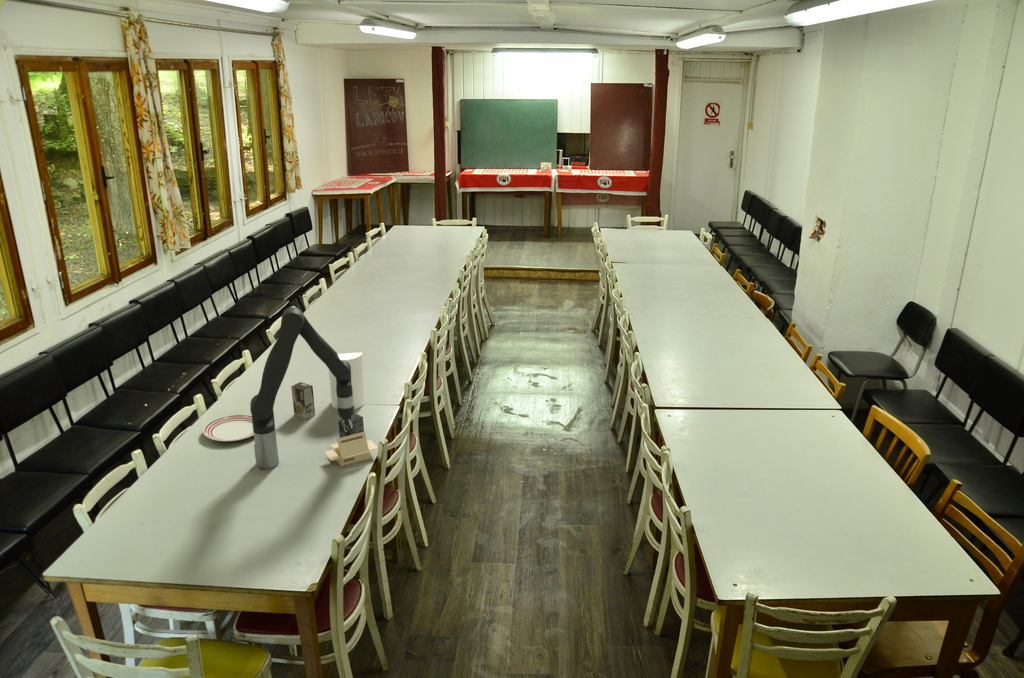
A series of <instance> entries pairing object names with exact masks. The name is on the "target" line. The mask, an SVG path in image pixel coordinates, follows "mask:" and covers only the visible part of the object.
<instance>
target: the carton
mask: <svg viewBox="0 0 1024 678" xmlns="http://www.w3.org/2000/svg"><path fill="white" fill-rule="evenodd" d="M367 444H368V448H369V451H367V452H363V453H360V454H356V455H352V456H348V457H345V458H341V454H340V450H339V446H338V442H335V443H332V444H330V447H331V448H332V449H329V450H326V451H323V452H324V455H326V457H327V458H328V459H329V461H331V462H333V461H336V462H337V464H338V465H339V467H340V468H343V467H346V466H350V465H353V464H354V465H355V464H357V463H361V462H365V461H368V460H371V451H374V450H378V449H379V448H378V446H377V445H376V444H375V443H374V442H373V441H372V440H371V439H369V440H367Z"/></svg>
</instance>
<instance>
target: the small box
mask: <svg viewBox="0 0 1024 678" xmlns="http://www.w3.org/2000/svg"><path fill="white" fill-rule="evenodd" d="M351 417H352V424H354V429H353V431H352V432H351V435H353V434H357V433H361V432H365V428H364V427H365V426H364V417H363V416H362V415H360V414H358V413H354V414H353V415H352V416H351ZM337 422H338V434H339V438H341V437H345V431H344V428H343V427H342V424H341V420H340V419H339V420H337Z"/></svg>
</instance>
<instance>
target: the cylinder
mask: <svg viewBox="0 0 1024 678" xmlns="http://www.w3.org/2000/svg"><path fill="white" fill-rule="evenodd" d="M337 354H338V357H339V358H340V360H345V361H347V362H348V363H349V364H350V366H351V384H352V391H353V398H354V410H356V409H359V408H361V407H363V406H364V405H365V404H366V394H365V392H366V391H365V380H364V379H365V378H364V360H363V352H347V353H346V352H345V353H337ZM328 375H329V389H330V398H331V406H332V407H333V409H336V410H337V393H336V377H335V376H334V375H333V374H332V373H331V371H330V370H329V369H328Z"/></svg>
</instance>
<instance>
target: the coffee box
mask: <svg viewBox="0 0 1024 678" xmlns="http://www.w3.org/2000/svg"><path fill="white" fill-rule="evenodd" d="M290 387H291V388H290V389H291V398H292V407H293V415H294V416H297V417H300V418H303V419H305V420H308V419H309V418H311V417H313V416H315V415H316V410H315V398H314V397H315V396H314V388H313V387H314V386H313V385H312V384H308V383H305V382H303V381H302V382H301V381H300V382H297V383H295V384H294V385H291V386H290Z"/></svg>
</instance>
